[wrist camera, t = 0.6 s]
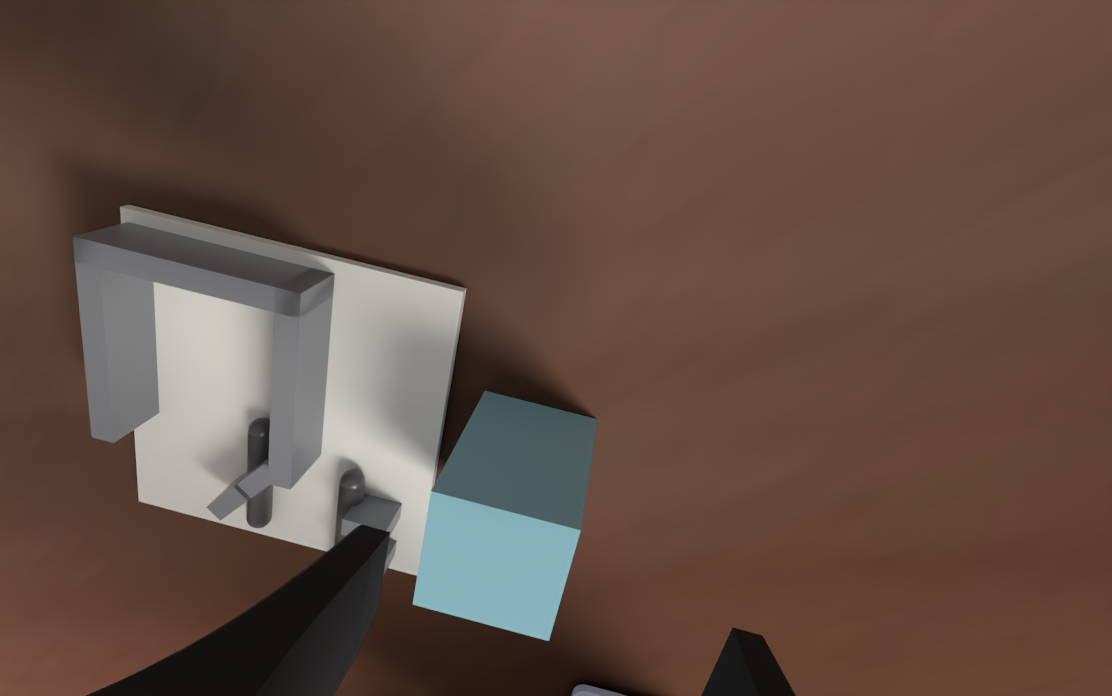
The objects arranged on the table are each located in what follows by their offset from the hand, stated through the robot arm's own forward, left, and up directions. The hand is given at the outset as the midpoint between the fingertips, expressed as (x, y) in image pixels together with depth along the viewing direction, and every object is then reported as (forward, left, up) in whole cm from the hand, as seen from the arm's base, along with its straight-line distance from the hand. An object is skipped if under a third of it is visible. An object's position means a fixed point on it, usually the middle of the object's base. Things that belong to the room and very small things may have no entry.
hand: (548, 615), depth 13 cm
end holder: (-1, +13, -9) cm, 16 cm away
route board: (-3, +11, -9) cm, 14 cm away
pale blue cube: (-2, +2, -10) cm, 10 cm away
